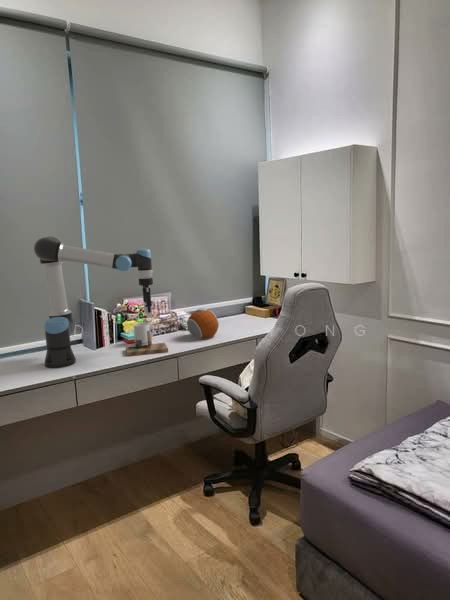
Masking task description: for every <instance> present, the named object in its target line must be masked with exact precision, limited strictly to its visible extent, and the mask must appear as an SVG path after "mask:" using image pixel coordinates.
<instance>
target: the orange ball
mask: <svg viewBox="0 0 450 600" xmlns="http://www.w3.org/2000/svg"><path fill="white" fill-rule="evenodd" d="M219 326H220V325H219V320H218V318H217V316H216V314H215V313H214V312H213V311H212V310H209V309H207V308H205V307H203V308H201V307H200V308H197V310H195V311H193V312H192V313H191V314H190V316H189V317H188V319H187V321H186V327H187V329H188V333H190V335H191V336H192V337H193V338H195V339H199V340H208V339H211V338H213V337H214V336H215V335H216V334H217V332H218V329H219Z"/></svg>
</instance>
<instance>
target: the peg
mask: <svg viewBox="0 0 450 600" xmlns="http://www.w3.org/2000/svg"><path fill="white" fill-rule="evenodd" d="M151 335H152V330H150V329H149V330H148V331H147V340H148V343H147V344H142V340H136V343H135V345H134V346H135V347H128V346H127V347H128V348H142V347H150V346H151V345H152V344H153V343H152V342H153V341H152V340H153V339H152V337H151Z"/></svg>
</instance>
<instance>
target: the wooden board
mask: <svg viewBox="0 0 450 600" xmlns="http://www.w3.org/2000/svg"><path fill="white" fill-rule="evenodd" d="M135 346H136V345H130V346H125V352H126V356H127V357H132V356H142V355H151V354H152V355H153V354H161V353H168V352H169V347H168V346H167V344H166V342H161V343H160V342H159V343H157V342H156V343H152V345H151V346H150V347H142V348H128V347H135Z"/></svg>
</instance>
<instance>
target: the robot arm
mask: <svg viewBox="0 0 450 600" xmlns="http://www.w3.org/2000/svg"><path fill="white" fill-rule="evenodd" d="M33 251H34V254H35V256H37V257H38V259H39V263H40V265H41V266H43V268H44V273H45V278H46V279H45V280H46V287H47V292H48V298H49V305H50V309H51V310H50V312H49V314H48V317H49V318H48V319H47V320H45V321H44V326H43V327H44V333H45V334H44V335H45V344H46V345H45V346H46V354H45V358H44V366H45V367H46V368H52V369H55V368H56V369H59V368H65V367H69V366H72V365H74V364H76V361H77V360H76V359H77V358H76V355H75V353H74V351H73V350H72V346H71V337H70V336H71V335H72V334H73V333H74V331H75V327H76V321H75V320H74V318H73V312H72V310H70V309H69V306H68V300H67V294H66V293H67V292H66V287H65V282H64V281H65V280H64V275H63V274H64V273H63V269H62V267H63V266H62V265H63V263H64V261H65V262H72V263H77V264H84V265H90V266H96V267H103V268H110V269H114V270H119V271H121V272H126V271H129V269H131V268H137V277H138V285H139V286H142V288H141V289H142V300H143V310H144V311H143V312H144V315H146V319H147V320H148V319H149V320H150V319H152V318H153V313H152V312H153V311H152V308H153V307H152V305H153V304H152V297H151V288H150V287H149V286H152V285H153V284H154V280H153V273H154V271H153V267H152V266H153V265H152V254H151V250H150V249H149V248H141V249H139V248H138V249H136V251H135V253H134V252H133V253H119V254H117V253H112V252H106V251H100V250H93V249H88V248H84V247H83V248H82V247H76V246H72V245H65V244H64V243H63V242H61V240H60V239H59V238H57V237H56V236H55V237H54V236H45V237H41V238H39V239H38V240H36V241H35V243H34V246H33Z"/></svg>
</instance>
